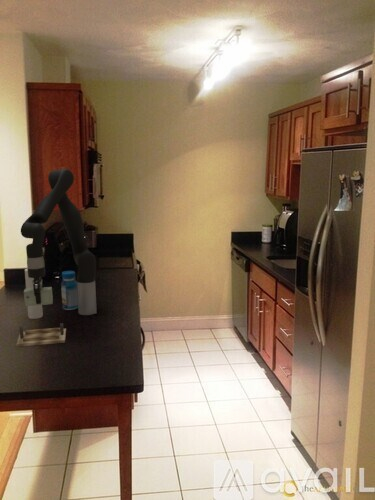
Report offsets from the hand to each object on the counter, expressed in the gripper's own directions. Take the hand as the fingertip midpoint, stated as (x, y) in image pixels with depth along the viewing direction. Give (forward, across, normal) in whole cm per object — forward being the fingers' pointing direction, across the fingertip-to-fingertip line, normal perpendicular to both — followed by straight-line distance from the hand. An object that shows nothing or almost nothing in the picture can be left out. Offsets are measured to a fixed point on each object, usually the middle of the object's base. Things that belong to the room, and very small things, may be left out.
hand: (39, 301), depth 203 cm
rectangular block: (+1, 0, 0) cm, 1 cm away
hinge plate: (+14, -11, -1) cm, 18 cm away
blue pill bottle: (+15, +30, -13) cm, 36 cm away
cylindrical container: (+14, +20, +4) cm, 25 cm away
